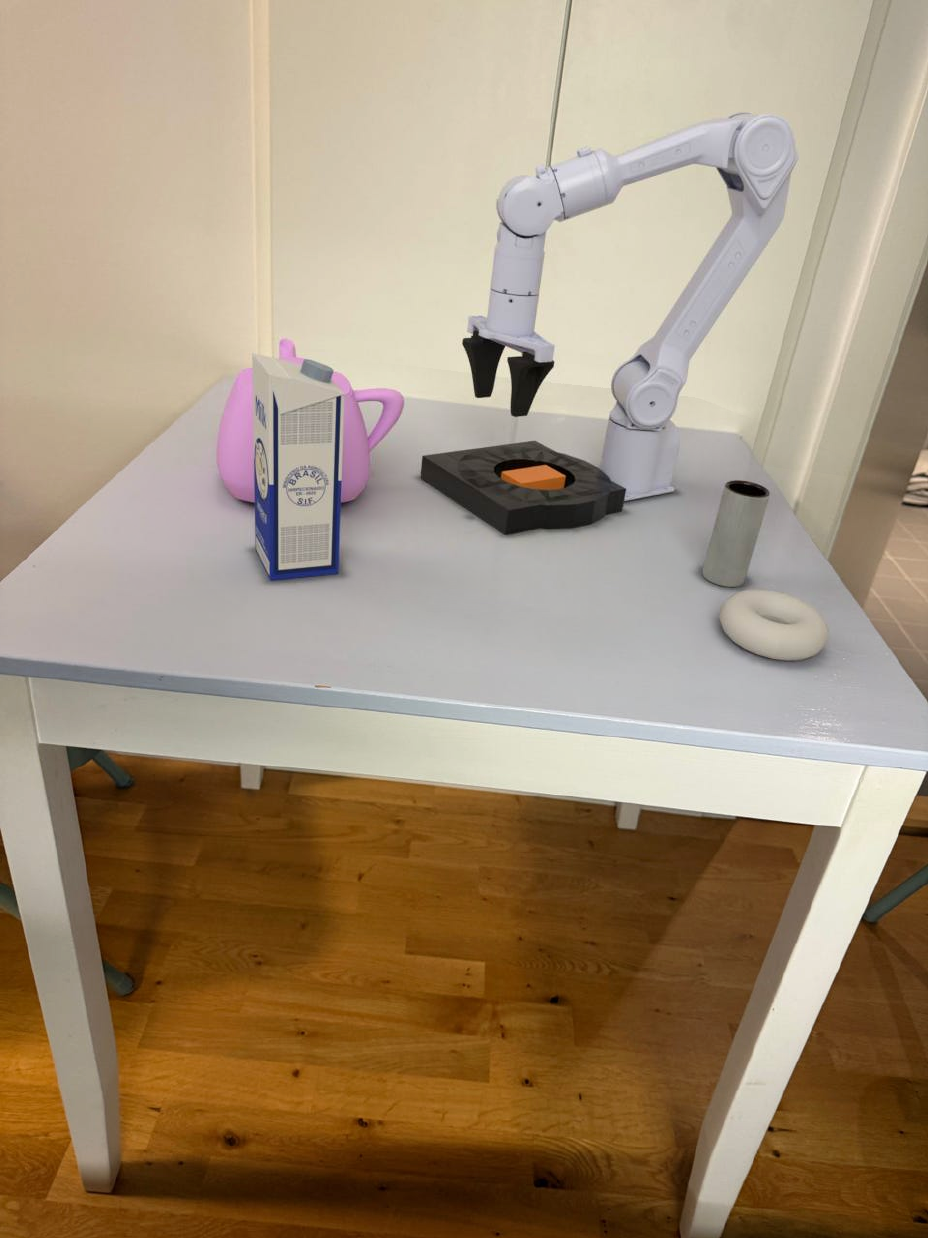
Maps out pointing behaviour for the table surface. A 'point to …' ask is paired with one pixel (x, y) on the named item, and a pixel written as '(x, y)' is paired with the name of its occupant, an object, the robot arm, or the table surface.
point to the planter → (735, 532)
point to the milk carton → (297, 467)
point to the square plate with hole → (516, 507)
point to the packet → (535, 478)
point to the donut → (774, 624)
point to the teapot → (357, 446)
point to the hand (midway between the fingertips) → (500, 405)
